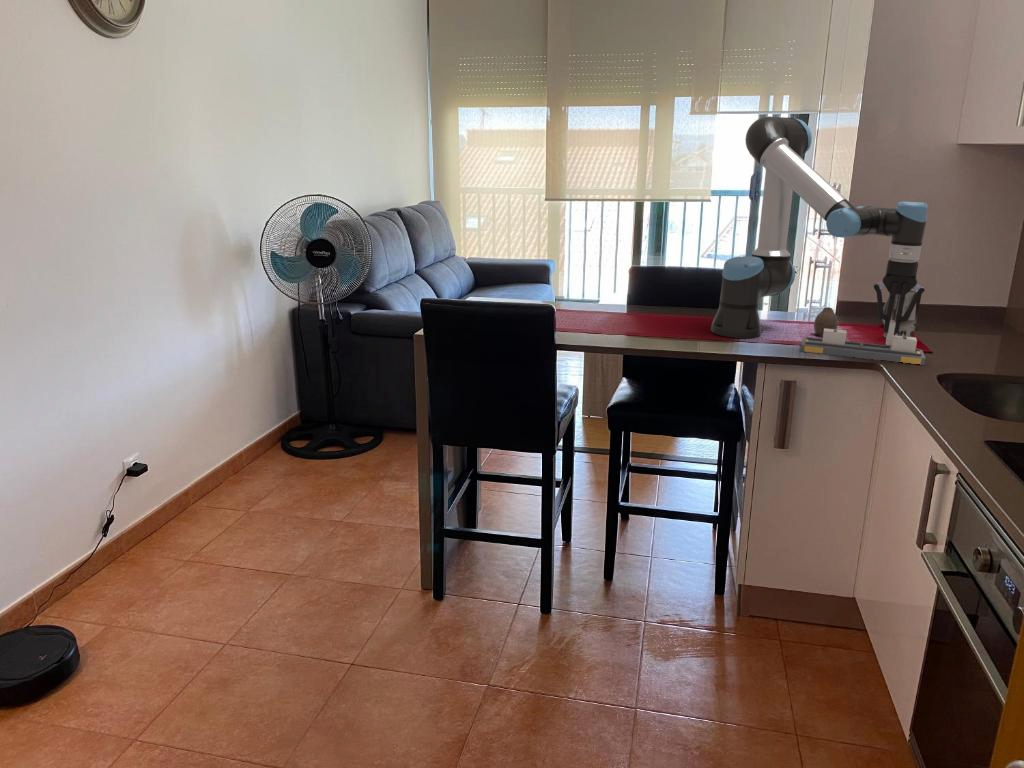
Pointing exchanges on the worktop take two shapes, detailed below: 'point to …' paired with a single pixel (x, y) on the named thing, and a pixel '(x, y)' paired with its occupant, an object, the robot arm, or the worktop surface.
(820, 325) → the vase
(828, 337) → the slider
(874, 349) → the grey slider track
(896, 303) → the coffee box
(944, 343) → the worktop surface
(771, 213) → the robot arm
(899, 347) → the slider
